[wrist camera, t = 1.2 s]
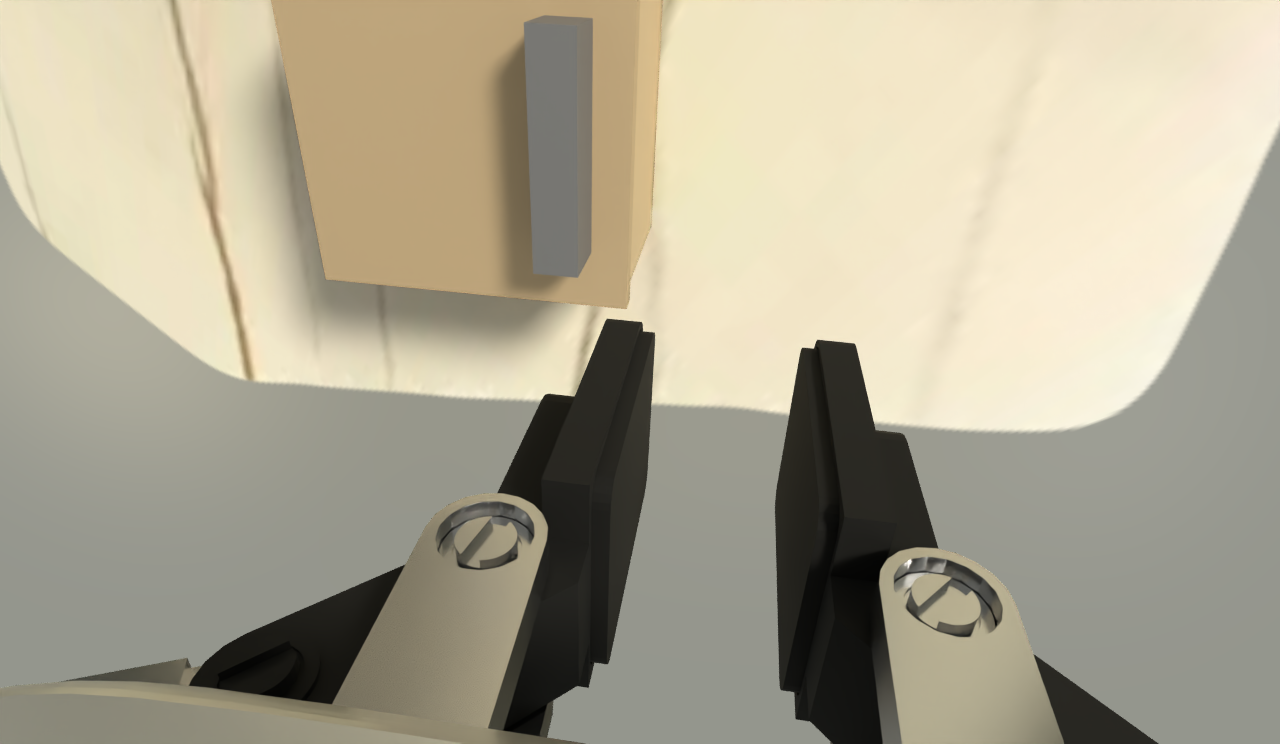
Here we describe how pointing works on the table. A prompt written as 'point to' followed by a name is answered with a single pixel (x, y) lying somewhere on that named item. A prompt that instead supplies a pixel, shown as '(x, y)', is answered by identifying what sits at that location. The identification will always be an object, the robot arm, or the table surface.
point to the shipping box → (645, 123)
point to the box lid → (469, 142)
